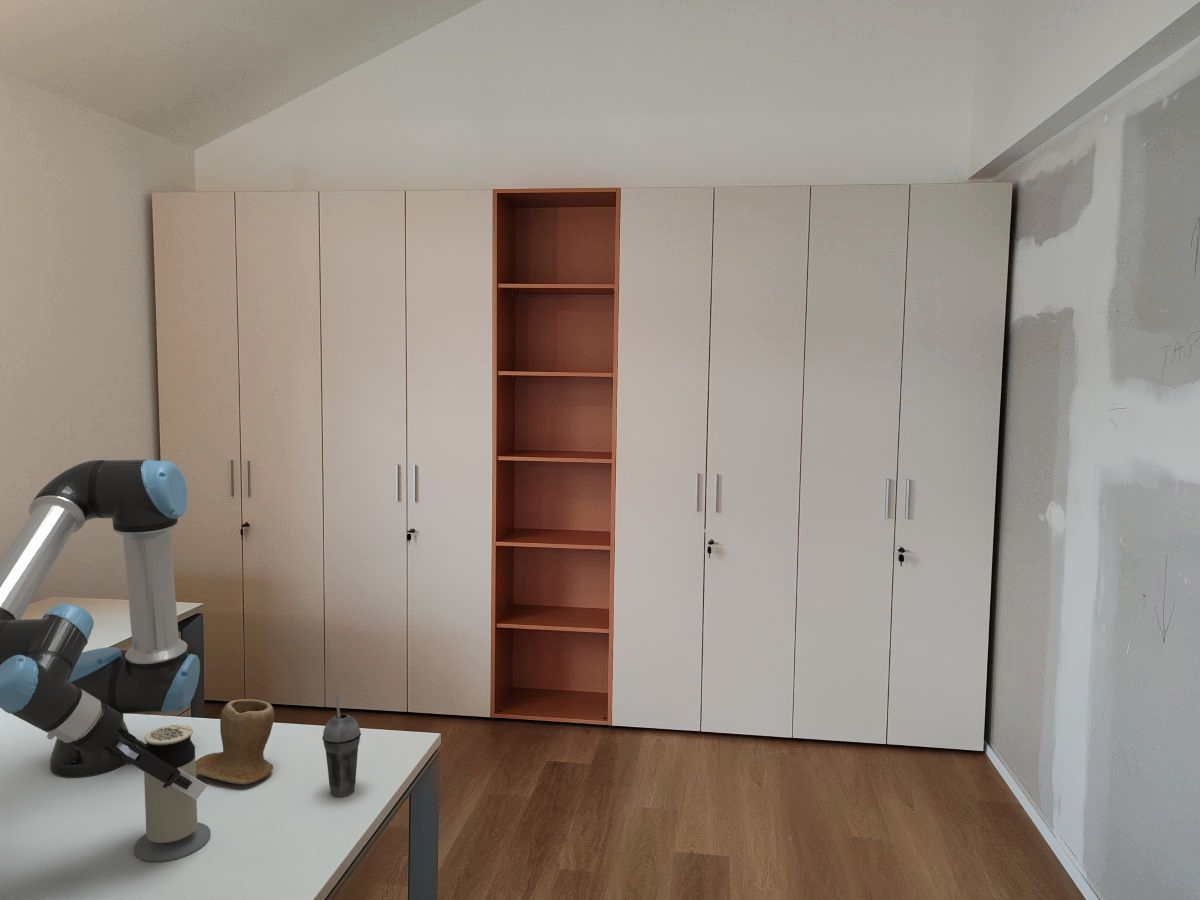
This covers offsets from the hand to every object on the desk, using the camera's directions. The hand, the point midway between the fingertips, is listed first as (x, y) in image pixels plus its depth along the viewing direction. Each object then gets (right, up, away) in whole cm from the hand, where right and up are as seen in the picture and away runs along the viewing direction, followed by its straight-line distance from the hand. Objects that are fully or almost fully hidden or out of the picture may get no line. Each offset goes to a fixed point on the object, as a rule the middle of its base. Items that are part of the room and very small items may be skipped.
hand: (191, 783), depth 148 cm
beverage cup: (+22, -9, +17) cm, 29 cm away
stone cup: (-2, -8, +24) cm, 25 cm away
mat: (-2, -10, -2) cm, 10 cm away
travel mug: (-2, -8, -2) cm, 9 cm away
